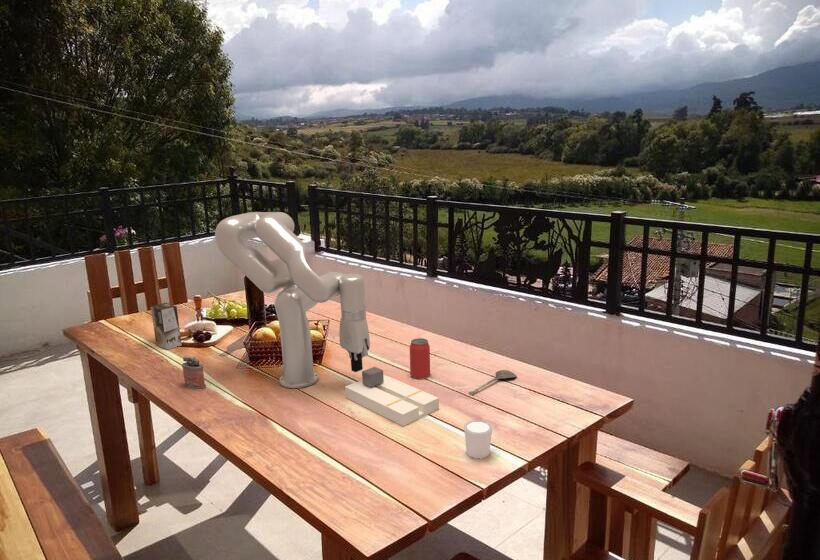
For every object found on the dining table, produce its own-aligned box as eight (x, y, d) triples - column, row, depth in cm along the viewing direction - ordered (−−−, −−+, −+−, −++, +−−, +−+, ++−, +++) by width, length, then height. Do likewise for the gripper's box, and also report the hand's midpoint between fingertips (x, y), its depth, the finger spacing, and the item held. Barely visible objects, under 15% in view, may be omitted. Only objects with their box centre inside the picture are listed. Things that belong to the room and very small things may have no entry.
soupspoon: (521, 379, 184) (504, 375, 188) (521, 369, 183) (504, 365, 188) (478, 399, 168) (461, 394, 173) (478, 388, 168) (461, 383, 172)
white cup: (461, 446, 143) (461, 420, 141) (488, 444, 143) (488, 419, 141) (466, 461, 136) (466, 434, 134) (494, 459, 136) (495, 432, 135)
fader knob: (362, 391, 172) (361, 371, 171) (375, 386, 176) (374, 366, 174) (371, 395, 169) (370, 375, 168) (383, 389, 173) (383, 370, 171)
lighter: (208, 386, 182) (204, 357, 180) (200, 390, 179) (196, 361, 177) (189, 382, 186) (186, 354, 183) (181, 386, 183) (178, 357, 180)
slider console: (345, 397, 172) (344, 386, 171) (380, 383, 181) (380, 372, 180) (403, 426, 153) (402, 414, 152) (438, 409, 163) (438, 397, 162)
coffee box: (182, 345, 221) (177, 305, 217) (166, 350, 216) (160, 309, 212) (171, 340, 226) (166, 302, 223) (155, 345, 222) (150, 305, 218)
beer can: (428, 380, 182) (427, 345, 179) (408, 379, 184) (407, 344, 181) (431, 372, 189) (431, 338, 186) (412, 371, 190) (411, 337, 187)
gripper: (329, 312, 176) (333, 367, 180) (359, 322, 165) (362, 380, 169) (348, 307, 181) (352, 361, 185) (378, 316, 170) (381, 373, 174)
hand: (357, 370), depth 177 cm, fingers closed
